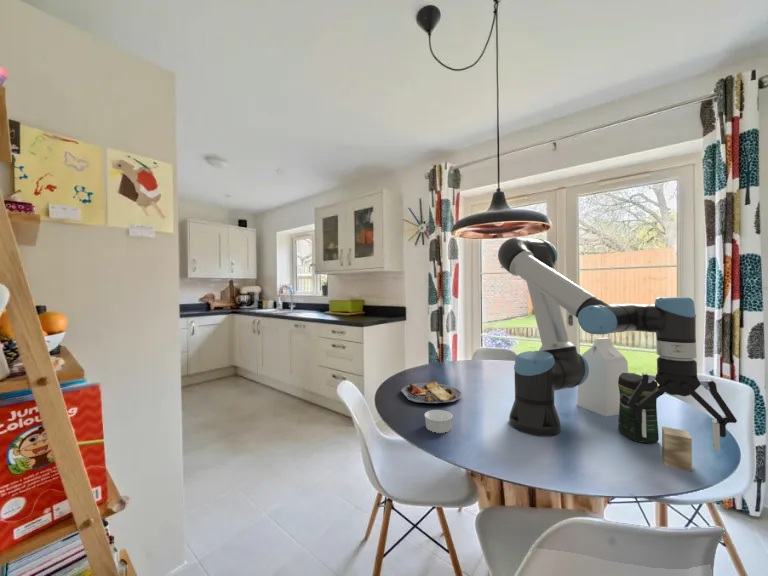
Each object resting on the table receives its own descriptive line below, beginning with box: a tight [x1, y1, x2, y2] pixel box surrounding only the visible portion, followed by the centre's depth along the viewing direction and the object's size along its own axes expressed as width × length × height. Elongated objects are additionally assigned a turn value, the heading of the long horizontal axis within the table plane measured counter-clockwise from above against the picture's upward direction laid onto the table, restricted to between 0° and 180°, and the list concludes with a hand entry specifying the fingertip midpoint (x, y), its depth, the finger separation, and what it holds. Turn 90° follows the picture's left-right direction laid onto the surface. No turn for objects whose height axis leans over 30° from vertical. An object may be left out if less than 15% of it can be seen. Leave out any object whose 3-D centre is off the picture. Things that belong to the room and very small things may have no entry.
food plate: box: [400, 380, 462, 404], centre depth 134 cm, size 25×23×4 cm
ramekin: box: [424, 409, 453, 434], centre depth 104 cm, size 9×9×4 cm
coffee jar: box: [617, 372, 660, 444], centre depth 97 cm, size 10×8×19 cm
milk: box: [576, 337, 629, 417], centre depth 119 cm, size 12×12×26 cm
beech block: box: [661, 426, 693, 472], centre depth 82 cm, size 5×5×8 cm
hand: (678, 442), depth 82 cm, fingers open, 13 cm apart
